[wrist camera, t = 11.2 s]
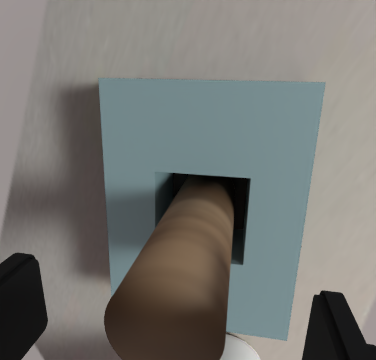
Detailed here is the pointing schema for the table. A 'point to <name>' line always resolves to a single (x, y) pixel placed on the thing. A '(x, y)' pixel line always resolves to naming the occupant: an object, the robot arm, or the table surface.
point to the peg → (179, 280)
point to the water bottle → (238, 350)
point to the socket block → (215, 166)
